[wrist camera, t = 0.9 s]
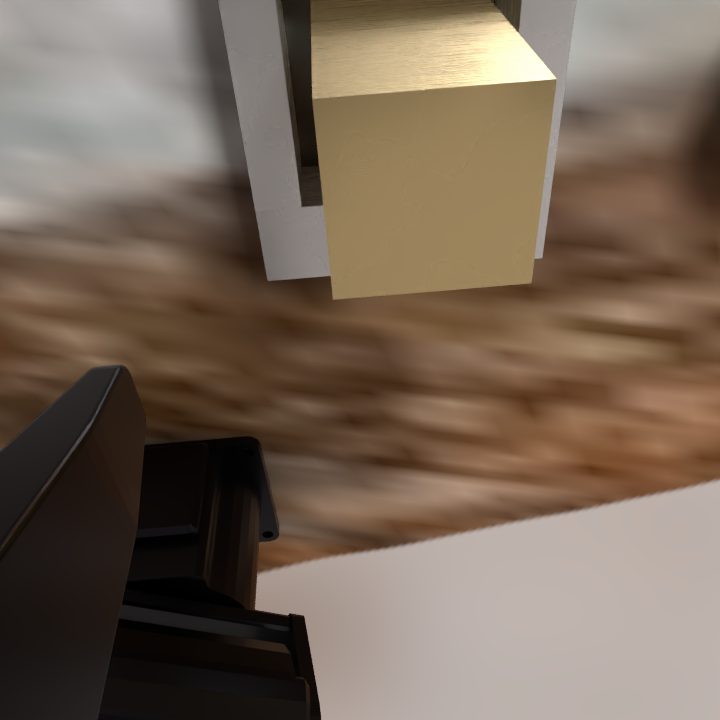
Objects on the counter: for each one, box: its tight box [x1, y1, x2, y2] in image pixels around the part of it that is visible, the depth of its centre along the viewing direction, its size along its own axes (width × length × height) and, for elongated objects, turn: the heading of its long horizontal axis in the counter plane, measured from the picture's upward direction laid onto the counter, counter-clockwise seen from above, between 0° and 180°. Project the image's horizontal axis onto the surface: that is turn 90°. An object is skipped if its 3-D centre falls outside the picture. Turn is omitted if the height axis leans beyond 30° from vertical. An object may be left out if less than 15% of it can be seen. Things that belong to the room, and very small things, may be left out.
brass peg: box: [310, 0, 557, 300], centre depth 15 cm, size 4×4×8 cm
